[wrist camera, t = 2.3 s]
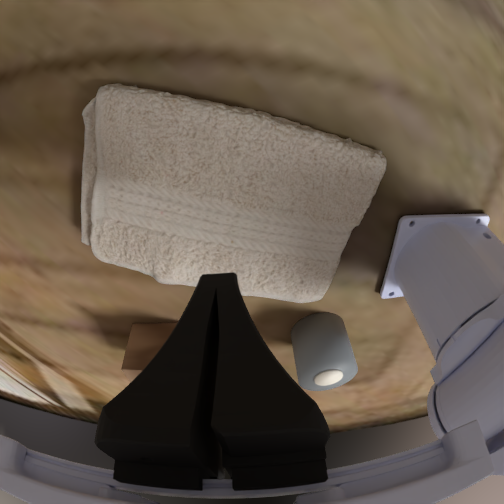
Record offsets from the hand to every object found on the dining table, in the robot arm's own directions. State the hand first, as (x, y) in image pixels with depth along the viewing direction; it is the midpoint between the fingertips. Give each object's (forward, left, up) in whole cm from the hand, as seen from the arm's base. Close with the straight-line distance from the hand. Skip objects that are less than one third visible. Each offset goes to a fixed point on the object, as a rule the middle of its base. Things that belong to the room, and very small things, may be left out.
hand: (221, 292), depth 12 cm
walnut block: (+7, +14, -8) cm, 18 cm away
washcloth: (0, 0, -9) cm, 9 cm away
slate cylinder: (-7, +14, -8) cm, 18 cm away
